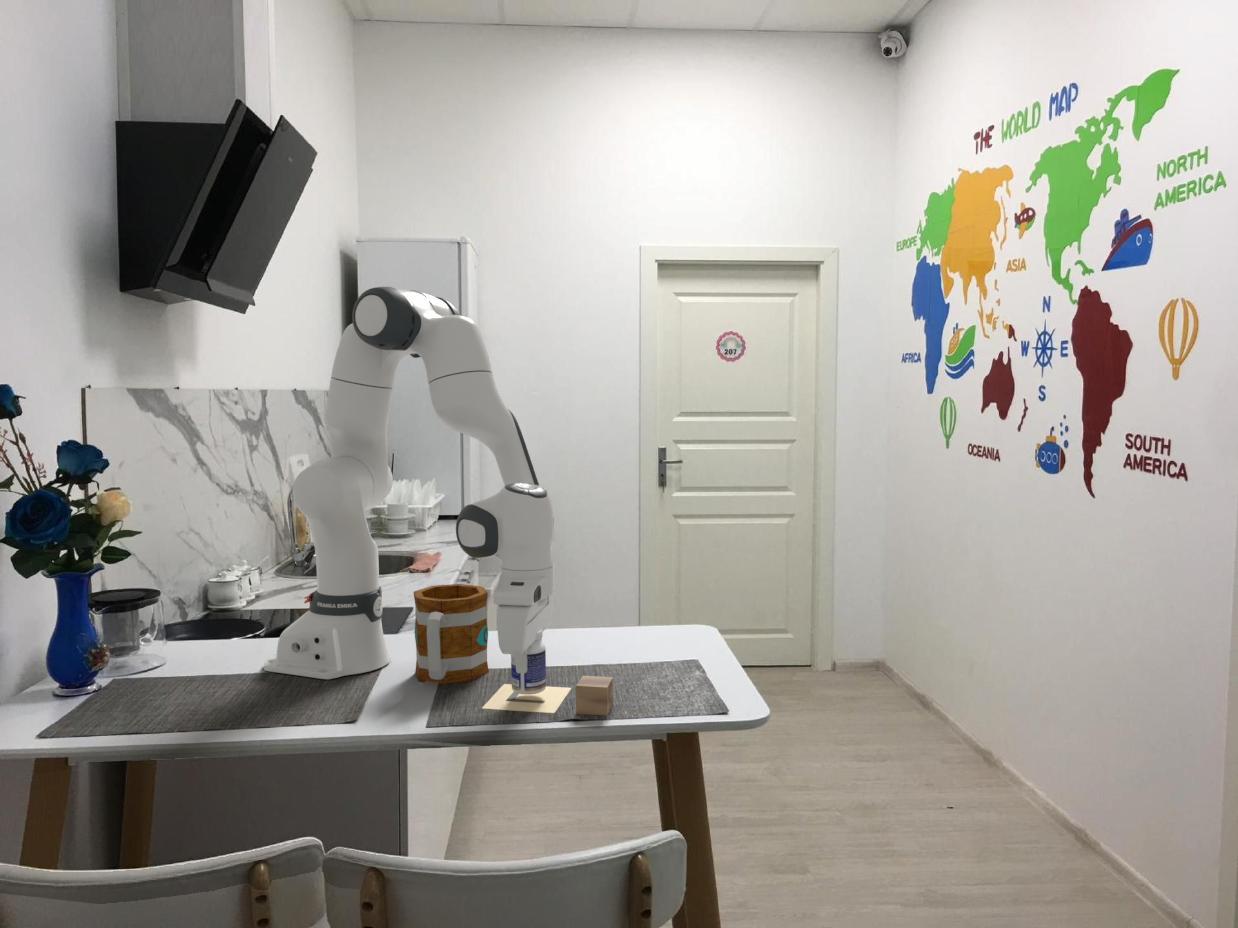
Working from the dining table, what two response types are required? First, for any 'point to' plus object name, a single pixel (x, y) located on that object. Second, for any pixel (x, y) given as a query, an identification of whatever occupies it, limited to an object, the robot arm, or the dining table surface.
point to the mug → (451, 633)
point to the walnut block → (594, 695)
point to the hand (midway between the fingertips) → (528, 665)
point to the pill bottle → (531, 670)
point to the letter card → (527, 700)
